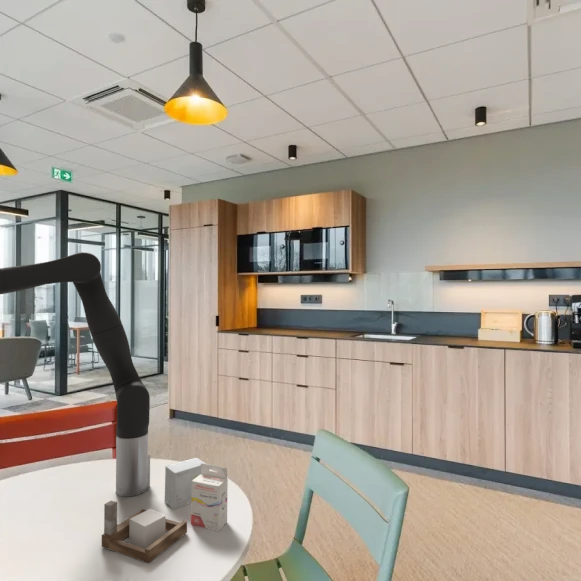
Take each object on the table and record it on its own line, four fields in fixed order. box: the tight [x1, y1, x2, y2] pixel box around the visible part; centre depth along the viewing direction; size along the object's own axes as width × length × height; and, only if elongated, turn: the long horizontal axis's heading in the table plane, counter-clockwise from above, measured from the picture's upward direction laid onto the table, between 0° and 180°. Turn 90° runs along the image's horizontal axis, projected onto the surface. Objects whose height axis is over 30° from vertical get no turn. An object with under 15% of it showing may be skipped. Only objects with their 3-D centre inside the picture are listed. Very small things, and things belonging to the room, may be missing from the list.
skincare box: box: [164, 457, 207, 510], centre depth 125 cm, size 10×6×10 cm, turn 132°
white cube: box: [128, 508, 167, 549], centre depth 104 cm, size 6×6×6 cm
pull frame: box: [101, 500, 188, 564], centre depth 104 cm, size 13×15×10 cm
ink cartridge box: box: [190, 463, 229, 532], centre depth 112 cm, size 9×5×15 cm, turn 71°
